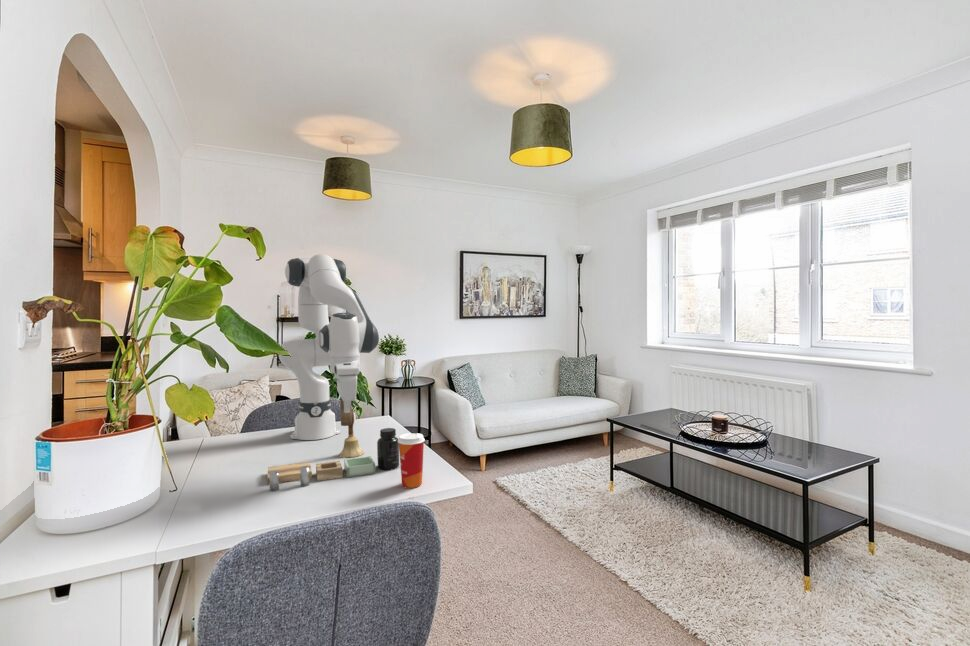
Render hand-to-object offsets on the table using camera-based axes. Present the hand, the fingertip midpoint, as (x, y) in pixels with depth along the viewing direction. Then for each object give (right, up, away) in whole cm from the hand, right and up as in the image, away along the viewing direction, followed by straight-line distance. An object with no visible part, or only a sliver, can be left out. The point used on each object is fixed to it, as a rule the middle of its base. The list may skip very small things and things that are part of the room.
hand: (346, 411), depth 142 cm
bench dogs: (-13, -20, -10) cm, 26 cm away
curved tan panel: (-17, -20, -1) cm, 26 cm away
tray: (+4, -19, +2) cm, 20 cm away
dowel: (0, -4, 0) cm, 4 cm away
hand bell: (-4, -19, +19) cm, 27 cm away
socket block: (-5, -19, -2) cm, 20 cm away
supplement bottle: (+12, -19, +6) cm, 23 cm away
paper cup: (+22, -19, -10) cm, 31 cm away
